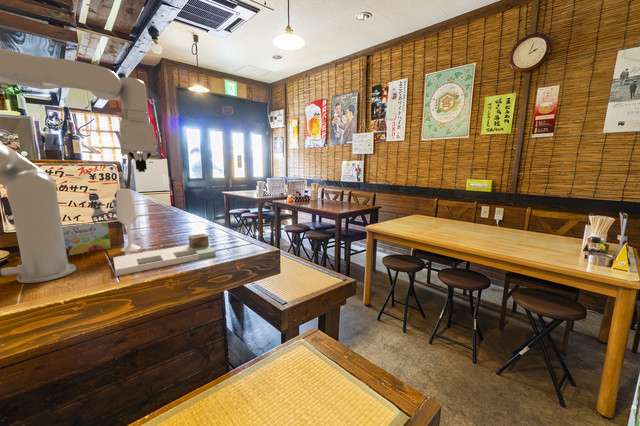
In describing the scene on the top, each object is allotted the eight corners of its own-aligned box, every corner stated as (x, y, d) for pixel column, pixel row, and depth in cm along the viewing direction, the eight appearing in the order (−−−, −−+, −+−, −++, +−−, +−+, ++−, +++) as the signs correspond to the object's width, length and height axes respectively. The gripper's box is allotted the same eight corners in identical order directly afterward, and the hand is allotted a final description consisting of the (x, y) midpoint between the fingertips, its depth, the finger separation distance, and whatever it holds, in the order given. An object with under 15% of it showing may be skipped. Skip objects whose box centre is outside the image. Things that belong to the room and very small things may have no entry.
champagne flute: (120, 252, 103) (112, 190, 99) (121, 247, 108) (113, 189, 104) (140, 249, 107) (134, 189, 102) (140, 245, 112) (134, 188, 108)
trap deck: (115, 275, 81) (115, 269, 81) (113, 262, 92) (113, 257, 92) (215, 255, 100) (215, 250, 100) (204, 247, 111) (204, 242, 110)
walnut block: (192, 248, 102) (191, 238, 101) (189, 245, 106) (188, 235, 105) (208, 245, 106) (208, 236, 105) (205, 243, 110) (204, 233, 109)
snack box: (36, 262, 91) (28, 220, 89) (33, 259, 95) (25, 217, 92) (111, 248, 108) (106, 211, 105) (107, 245, 111) (102, 210, 109)
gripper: (108, 113, 84) (115, 172, 87) (162, 119, 93) (167, 172, 96) (108, 116, 89) (114, 171, 93) (159, 121, 99) (163, 171, 102)
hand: (141, 171), depth 94 cm, fingers closed
